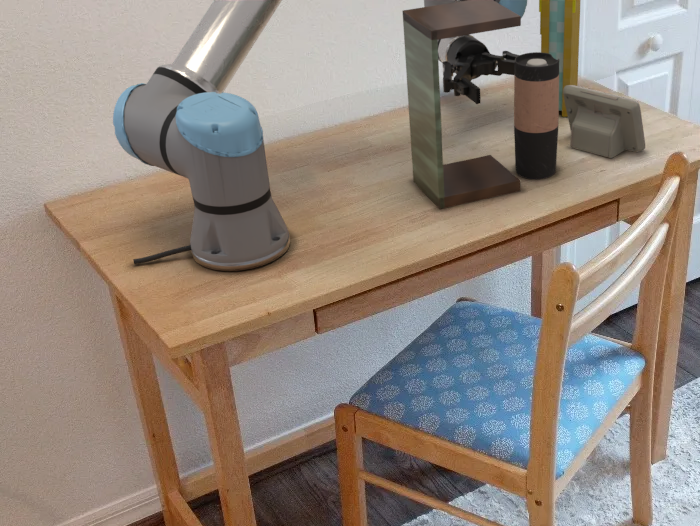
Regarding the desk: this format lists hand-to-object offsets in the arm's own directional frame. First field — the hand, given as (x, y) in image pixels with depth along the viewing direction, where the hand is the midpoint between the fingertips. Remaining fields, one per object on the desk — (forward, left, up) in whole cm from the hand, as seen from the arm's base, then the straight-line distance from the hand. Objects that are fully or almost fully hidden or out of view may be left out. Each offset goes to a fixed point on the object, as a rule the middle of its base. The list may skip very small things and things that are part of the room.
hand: (513, 89), depth 178 cm
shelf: (-14, -9, -12) cm, 20 cm away
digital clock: (+16, -5, -12) cm, 21 cm away
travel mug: (0, -9, -12) cm, 15 cm away
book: (+20, +19, -12) cm, 30 cm away
